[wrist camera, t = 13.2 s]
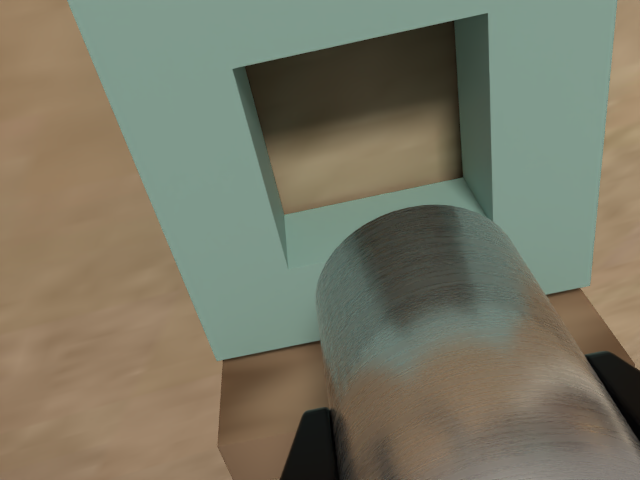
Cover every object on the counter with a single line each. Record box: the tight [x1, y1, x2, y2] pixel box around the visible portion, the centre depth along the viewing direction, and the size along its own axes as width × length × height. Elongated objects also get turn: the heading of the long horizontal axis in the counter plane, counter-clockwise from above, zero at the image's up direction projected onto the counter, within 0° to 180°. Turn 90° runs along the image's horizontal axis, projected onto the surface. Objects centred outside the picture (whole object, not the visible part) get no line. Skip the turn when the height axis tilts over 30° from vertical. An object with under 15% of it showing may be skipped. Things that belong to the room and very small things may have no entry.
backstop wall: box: [217, 288, 635, 480], centre depth 20 cm, size 12×2×6 cm, turn 101°
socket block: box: [67, 0, 617, 361], centre depth 17 cm, size 12×12×3 cm
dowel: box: [316, 205, 640, 480], centre depth 8 cm, size 4×4×8 cm
